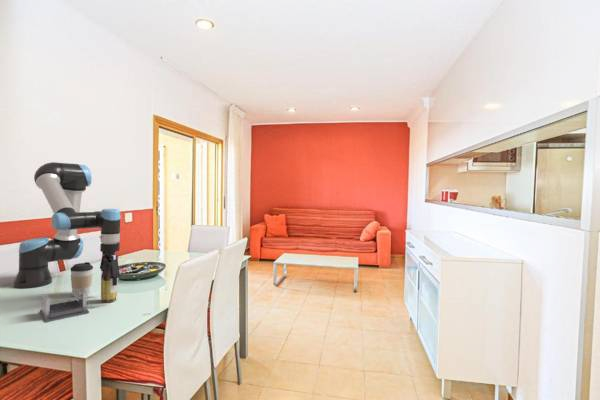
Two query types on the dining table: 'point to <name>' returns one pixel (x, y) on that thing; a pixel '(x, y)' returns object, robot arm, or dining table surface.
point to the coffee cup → (81, 277)
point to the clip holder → (64, 307)
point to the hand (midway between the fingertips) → (109, 288)
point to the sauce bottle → (106, 285)
